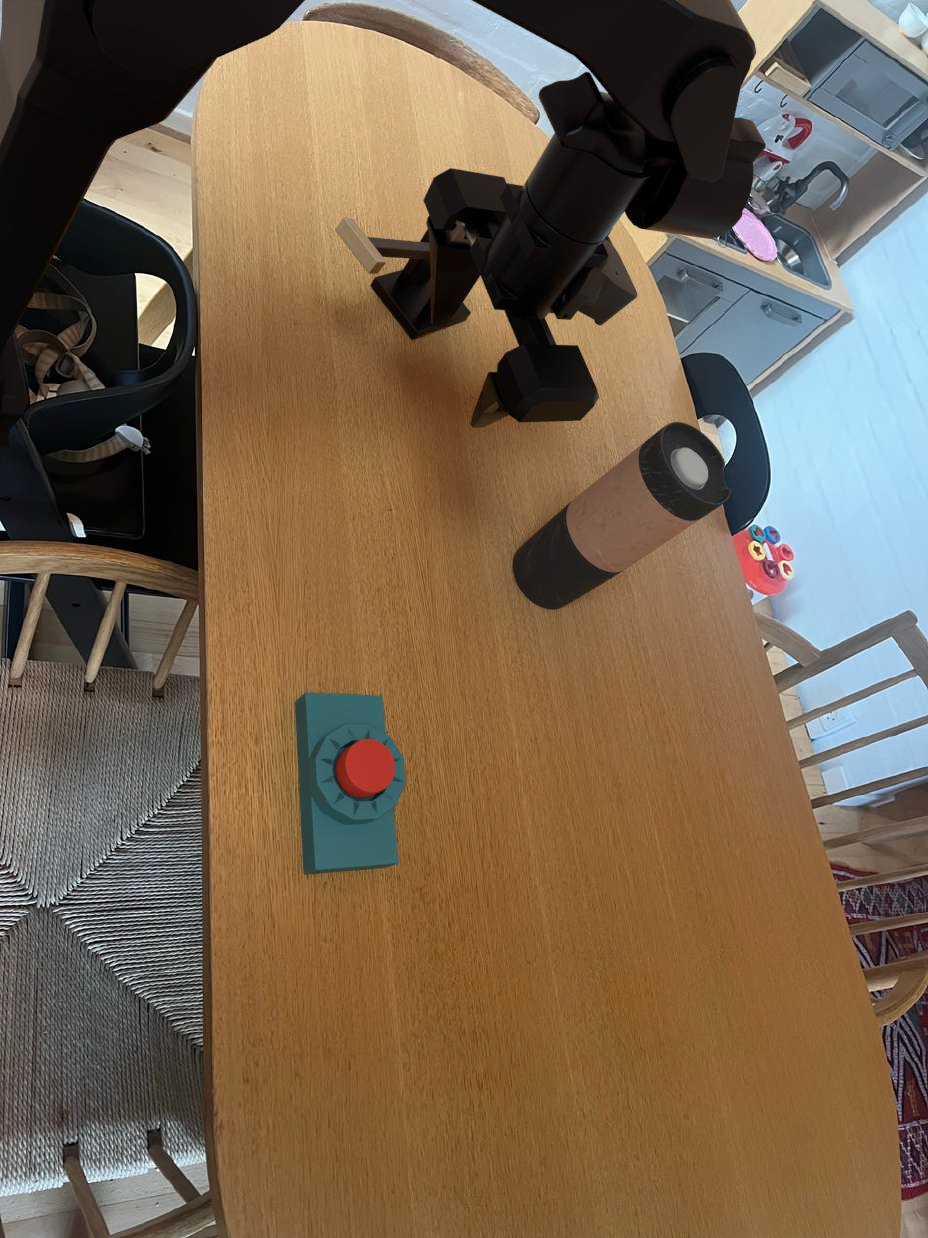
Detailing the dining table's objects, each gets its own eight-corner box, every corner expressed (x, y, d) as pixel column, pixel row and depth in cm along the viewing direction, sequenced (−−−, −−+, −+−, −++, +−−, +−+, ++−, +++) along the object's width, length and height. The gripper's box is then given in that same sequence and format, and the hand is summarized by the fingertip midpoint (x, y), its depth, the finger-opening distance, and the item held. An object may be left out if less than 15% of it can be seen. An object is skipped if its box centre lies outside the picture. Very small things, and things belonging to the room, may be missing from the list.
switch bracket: (412, 340, 78) (455, 276, 71) (369, 285, 78) (409, 216, 71) (465, 320, 84) (511, 259, 77) (426, 269, 84) (468, 203, 77)
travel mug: (495, 563, 71) (644, 440, 56) (538, 528, 76) (686, 406, 61) (547, 627, 72) (709, 522, 56) (587, 588, 76) (746, 481, 61)
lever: (364, 278, 62) (382, 256, 61) (330, 234, 62) (347, 211, 61) (465, 280, 77) (481, 262, 76) (437, 244, 77) (453, 225, 76)
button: (333, 745, 52) (343, 738, 51) (381, 745, 54) (392, 738, 52) (337, 799, 50) (347, 793, 49) (386, 797, 52) (398, 791, 51)
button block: (291, 701, 56) (311, 683, 52) (373, 704, 59) (396, 687, 56) (299, 875, 51) (322, 866, 48) (388, 867, 54) (414, 859, 51)
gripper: (723, 339, 48) (582, 474, 60) (610, 113, 52) (502, 283, 65) (585, 333, 42) (462, 483, 55) (473, 79, 46) (383, 273, 59)
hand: (456, 374), depth 58 cm, fingers open, 9 cm apart
